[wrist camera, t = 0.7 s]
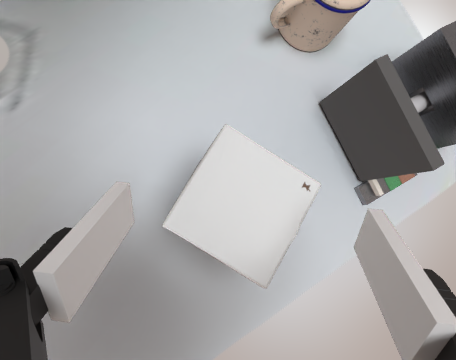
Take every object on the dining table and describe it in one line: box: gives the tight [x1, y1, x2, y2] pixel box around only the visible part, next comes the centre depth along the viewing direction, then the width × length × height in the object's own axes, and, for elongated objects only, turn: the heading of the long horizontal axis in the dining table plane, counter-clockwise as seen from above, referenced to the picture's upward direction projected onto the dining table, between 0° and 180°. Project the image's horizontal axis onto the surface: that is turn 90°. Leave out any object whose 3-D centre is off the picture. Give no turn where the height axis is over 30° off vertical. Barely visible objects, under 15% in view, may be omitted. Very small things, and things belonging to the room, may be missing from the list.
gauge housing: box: [354, 21, 456, 205], centre depth 33 cm, size 15×15×12 cm
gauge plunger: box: [319, 54, 445, 196], centre depth 33 cm, size 14×10×11 cm, turn 28°
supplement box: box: [162, 124, 321, 289], centre depth 27 cm, size 9×9×15 cm
